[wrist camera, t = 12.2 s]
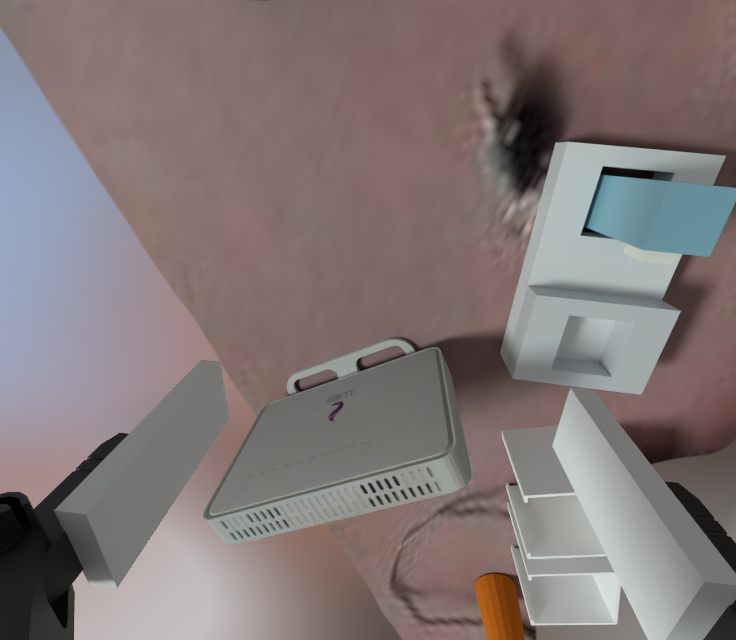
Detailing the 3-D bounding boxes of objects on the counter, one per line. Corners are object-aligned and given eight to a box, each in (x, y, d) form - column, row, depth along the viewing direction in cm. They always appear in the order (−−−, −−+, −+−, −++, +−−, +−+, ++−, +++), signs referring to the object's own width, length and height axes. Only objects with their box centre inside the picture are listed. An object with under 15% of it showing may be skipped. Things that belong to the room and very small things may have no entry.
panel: (555, 142, 37) (581, 140, 31) (701, 155, 36) (754, 155, 30) (499, 352, 47) (512, 378, 41) (613, 366, 46) (641, 394, 40)
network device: (432, 322, 46) (449, 431, 28) (455, 377, 49) (485, 510, 31) (260, 384, 52) (182, 506, 34) (290, 430, 55) (233, 565, 37)
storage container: (581, 545, 59) (617, 624, 49) (510, 548, 61) (531, 625, 51) (585, 422, 50) (630, 488, 40) (501, 430, 52) (524, 495, 42)
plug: (593, 173, 38) (669, 181, 27) (643, 178, 37) (742, 188, 26) (573, 235, 40) (636, 264, 29) (621, 239, 40) (702, 271, 29)
